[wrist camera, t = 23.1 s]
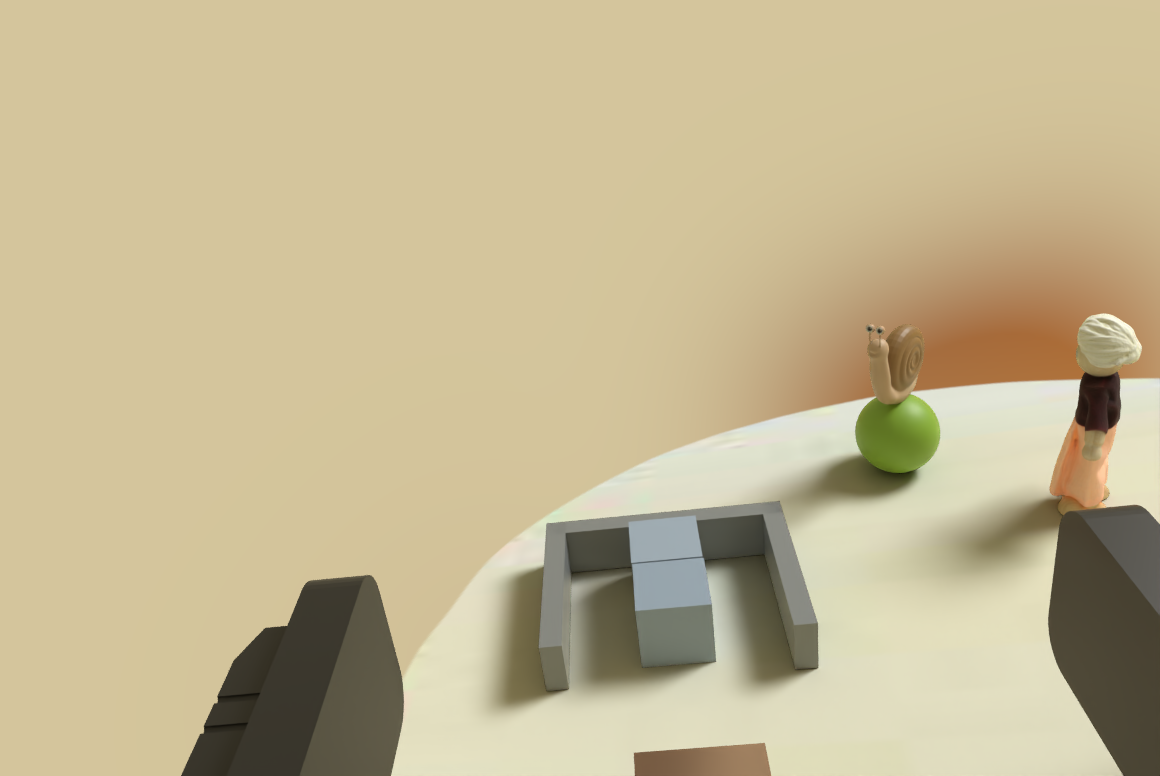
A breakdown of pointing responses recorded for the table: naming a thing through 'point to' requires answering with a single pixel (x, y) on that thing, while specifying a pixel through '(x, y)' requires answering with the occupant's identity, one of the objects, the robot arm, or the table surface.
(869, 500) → the table surface
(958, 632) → the table surface
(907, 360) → the snail figurine
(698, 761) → the tall wooden pillar
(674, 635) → the block
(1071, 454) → the grandmother figurine
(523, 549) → the table surface
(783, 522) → the grey u-shaped wall
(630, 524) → the block
